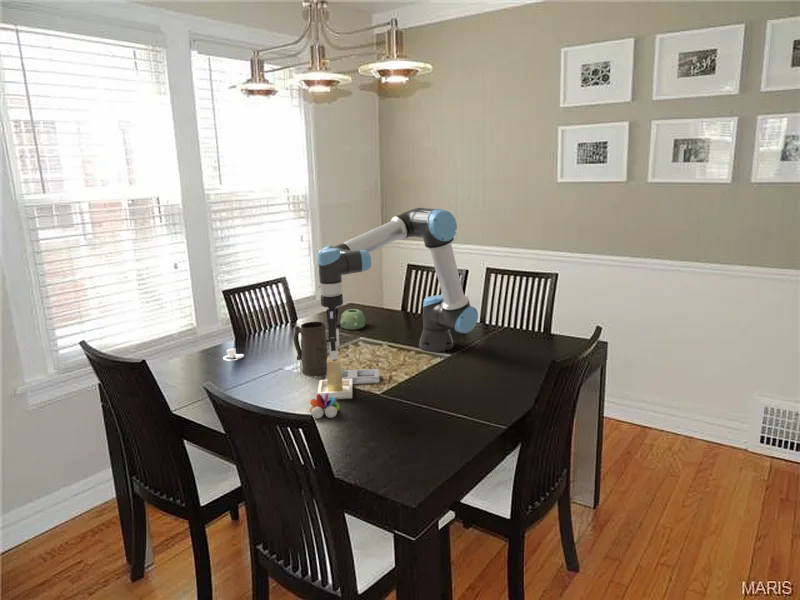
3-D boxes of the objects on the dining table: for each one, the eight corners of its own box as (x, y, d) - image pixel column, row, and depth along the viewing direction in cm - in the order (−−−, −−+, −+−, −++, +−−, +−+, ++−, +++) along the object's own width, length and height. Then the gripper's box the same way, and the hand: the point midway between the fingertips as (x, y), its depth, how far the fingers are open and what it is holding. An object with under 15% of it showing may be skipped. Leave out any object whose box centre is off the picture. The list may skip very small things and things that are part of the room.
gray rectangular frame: (378, 374, 210) (378, 368, 209) (379, 382, 202) (379, 376, 201) (326, 376, 208) (326, 370, 208) (325, 385, 200) (325, 378, 200)
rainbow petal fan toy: (310, 409, 181) (309, 389, 179) (340, 407, 182) (339, 387, 180) (309, 420, 173) (307, 399, 171) (339, 419, 173) (338, 398, 172)
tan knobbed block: (342, 387, 196) (341, 355, 193) (342, 393, 192) (341, 360, 189) (328, 388, 196) (327, 356, 193) (328, 393, 191) (326, 361, 188)
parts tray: (352, 385, 200) (352, 378, 200) (352, 398, 188) (352, 391, 188) (319, 386, 199) (319, 380, 199) (317, 400, 188) (317, 393, 187)
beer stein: (334, 367, 217) (329, 320, 213) (322, 376, 208) (317, 328, 204) (302, 365, 223) (296, 320, 218) (288, 375, 213) (282, 327, 209)
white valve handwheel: (247, 358, 230) (246, 349, 229) (230, 363, 225) (229, 354, 224) (236, 353, 236) (235, 345, 235) (219, 358, 231) (218, 349, 230)
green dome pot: (337, 324, 276) (337, 308, 274) (362, 322, 280) (361, 306, 278) (345, 333, 261) (344, 316, 259) (370, 331, 265) (370, 314, 263)
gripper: (322, 286, 197) (326, 341, 202) (317, 303, 173) (321, 365, 178) (343, 285, 197) (346, 340, 203) (341, 302, 173) (344, 364, 179)
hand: (334, 352), depth 190 cm, fingers open, 13 cm apart
